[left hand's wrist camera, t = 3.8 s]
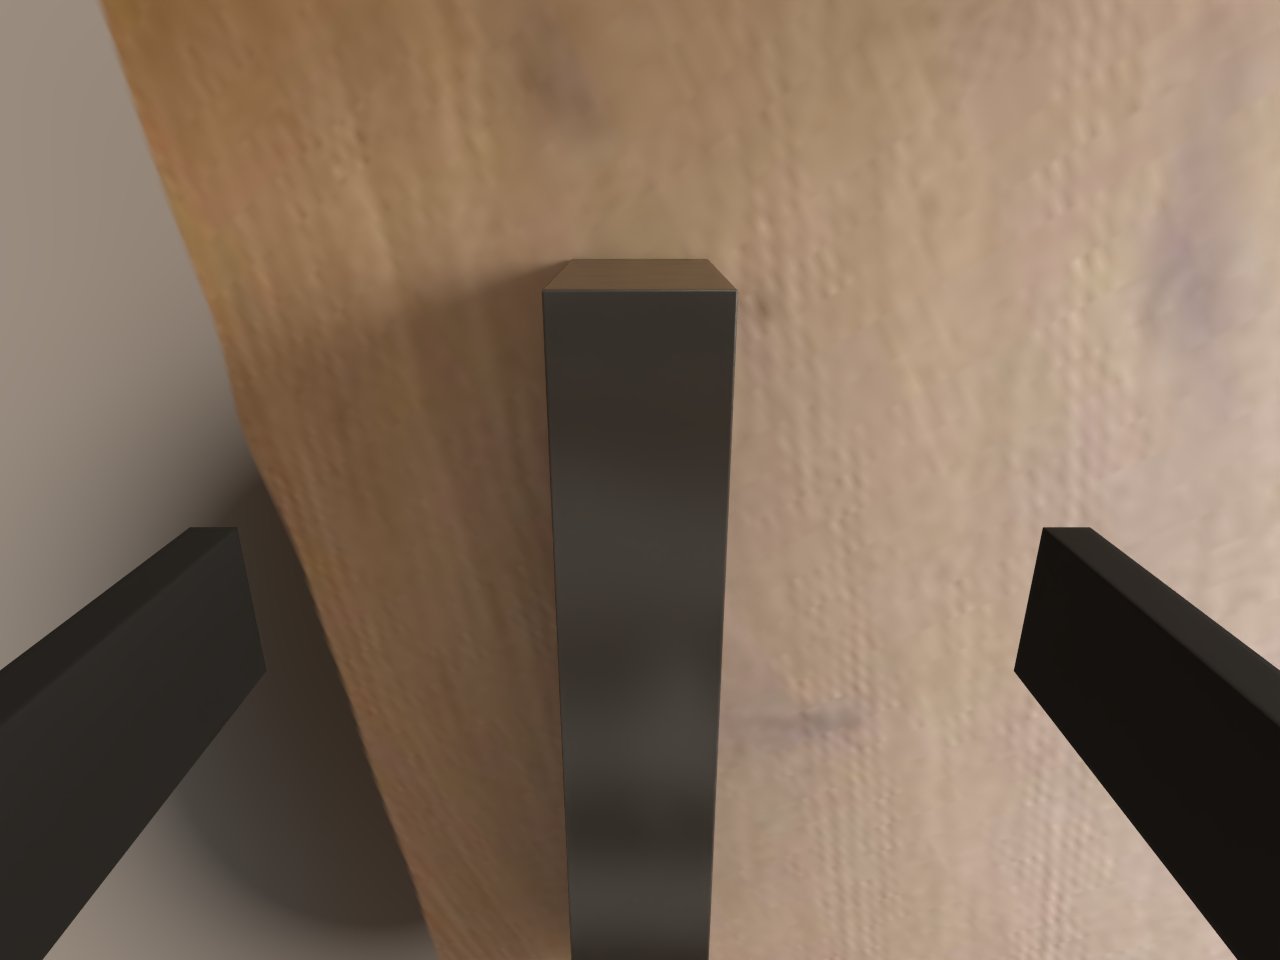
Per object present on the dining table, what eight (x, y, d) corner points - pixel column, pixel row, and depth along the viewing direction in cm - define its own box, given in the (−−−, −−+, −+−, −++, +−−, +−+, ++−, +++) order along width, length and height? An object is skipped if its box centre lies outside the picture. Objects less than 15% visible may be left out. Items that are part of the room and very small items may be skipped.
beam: (570, 258, 28) (541, 289, 20) (708, 259, 28) (738, 289, 20) (591, 937, 40) (579, 1137, 32) (688, 937, 40) (700, 1137, 32)
